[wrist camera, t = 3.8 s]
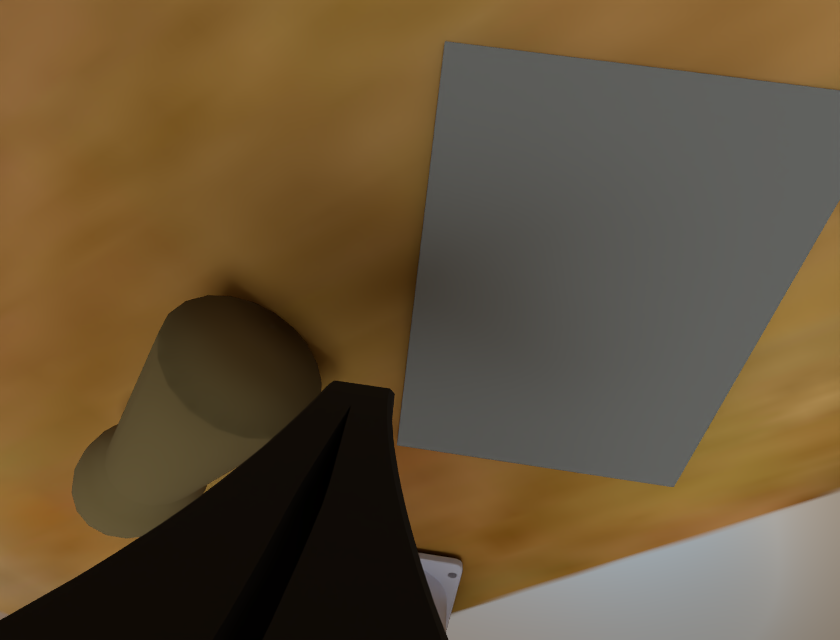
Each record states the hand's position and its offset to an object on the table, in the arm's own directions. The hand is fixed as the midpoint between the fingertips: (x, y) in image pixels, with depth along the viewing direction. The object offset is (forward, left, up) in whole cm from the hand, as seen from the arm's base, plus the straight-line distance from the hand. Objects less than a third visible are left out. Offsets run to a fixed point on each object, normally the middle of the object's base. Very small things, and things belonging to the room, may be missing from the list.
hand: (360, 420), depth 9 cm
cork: (-2, +5, -5) cm, 7 cm away
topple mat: (0, -7, -8) cm, 11 cm away
